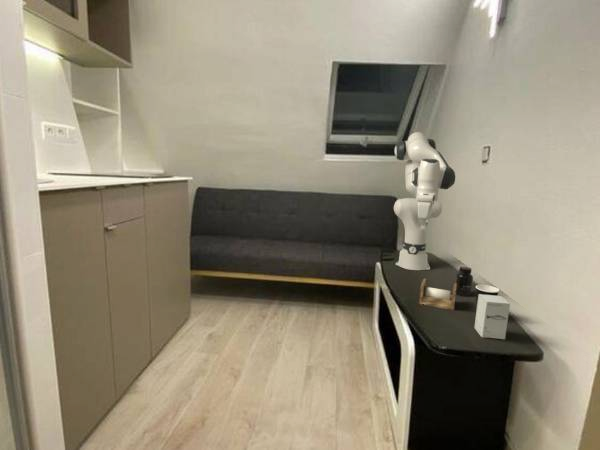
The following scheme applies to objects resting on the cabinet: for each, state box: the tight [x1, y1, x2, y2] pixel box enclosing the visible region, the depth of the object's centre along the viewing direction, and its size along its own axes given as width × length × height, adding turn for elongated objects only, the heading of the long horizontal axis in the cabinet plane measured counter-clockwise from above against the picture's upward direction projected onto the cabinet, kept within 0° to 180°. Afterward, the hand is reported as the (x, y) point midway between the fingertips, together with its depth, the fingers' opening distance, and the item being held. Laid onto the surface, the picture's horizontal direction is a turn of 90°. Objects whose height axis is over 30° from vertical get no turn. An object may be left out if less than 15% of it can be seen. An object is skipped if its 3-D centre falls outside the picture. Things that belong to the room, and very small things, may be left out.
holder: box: [418, 278, 457, 311], centre depth 141 cm, size 13×10×8 cm
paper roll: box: [425, 286, 452, 301], centre depth 141 cm, size 9×5×5 cm, turn 64°
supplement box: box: [474, 294, 511, 340], centre depth 115 cm, size 7×7×13 cm
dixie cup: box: [475, 284, 500, 312], centre depth 130 cm, size 8×8×11 cm
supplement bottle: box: [454, 266, 474, 297], centre depth 153 cm, size 7×7×12 cm
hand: (424, 227), depth 153 cm, fingers open, 8 cm apart
